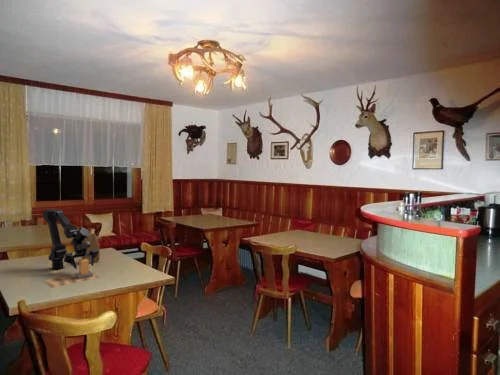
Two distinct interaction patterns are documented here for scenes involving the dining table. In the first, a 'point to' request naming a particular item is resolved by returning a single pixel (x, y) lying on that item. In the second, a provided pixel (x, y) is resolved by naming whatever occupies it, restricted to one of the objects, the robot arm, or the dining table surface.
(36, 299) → the dining table surface
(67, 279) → the board
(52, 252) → the robot arm
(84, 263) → the sanding block
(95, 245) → the bread loaf
